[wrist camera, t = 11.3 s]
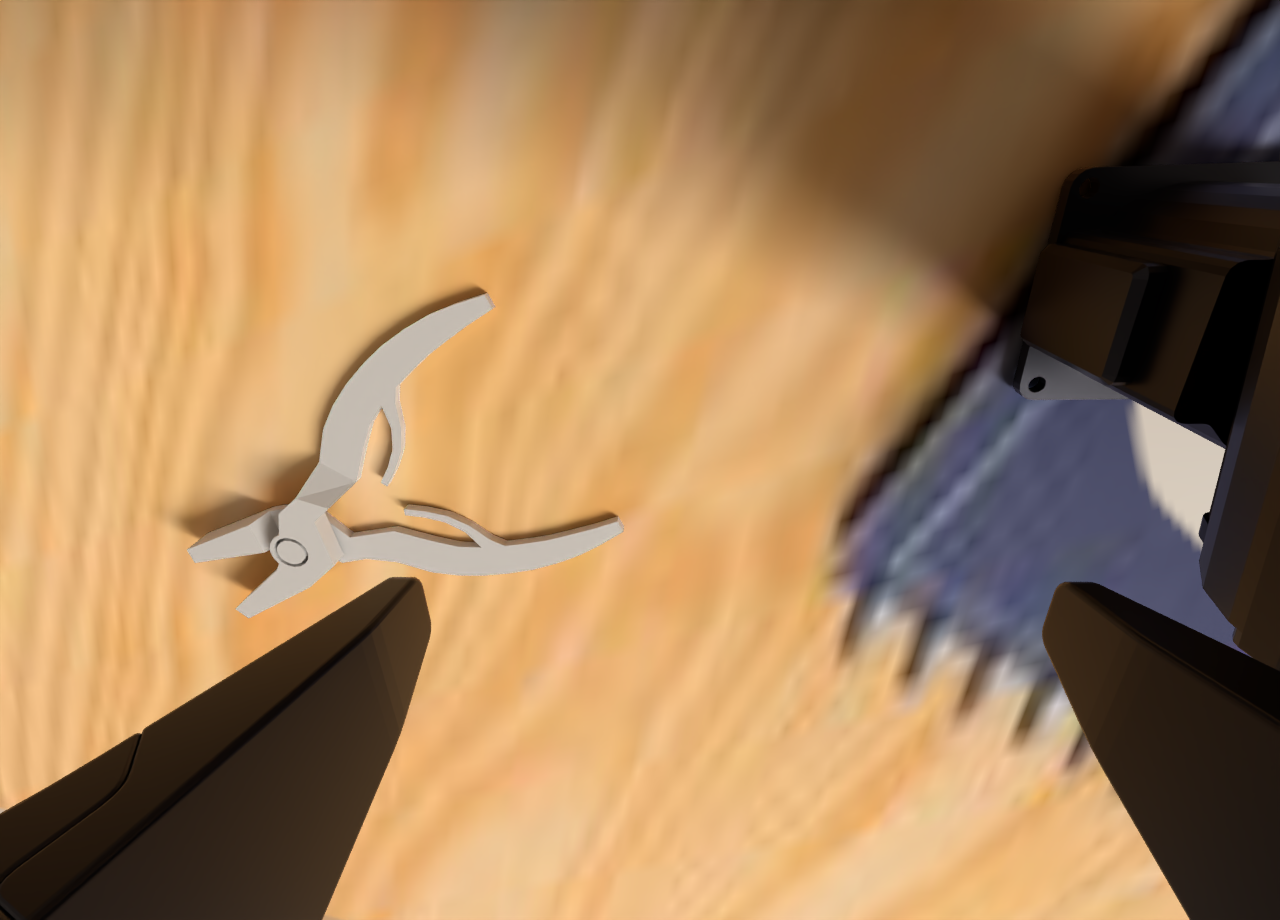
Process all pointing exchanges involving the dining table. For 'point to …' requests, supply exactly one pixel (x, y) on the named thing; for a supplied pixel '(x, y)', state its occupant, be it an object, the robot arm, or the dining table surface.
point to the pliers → (320, 540)
